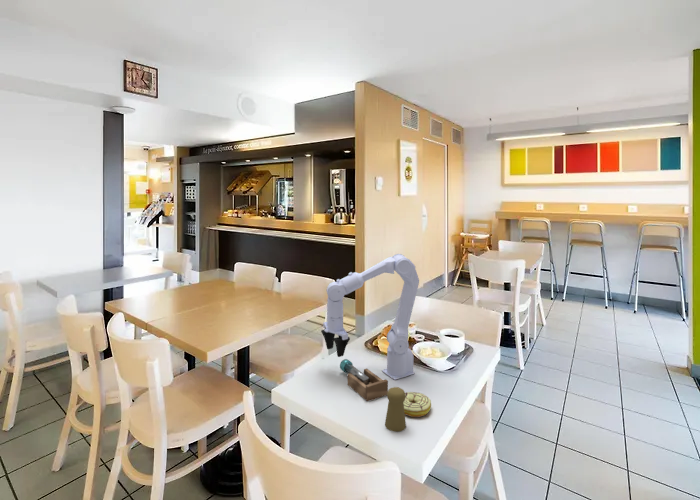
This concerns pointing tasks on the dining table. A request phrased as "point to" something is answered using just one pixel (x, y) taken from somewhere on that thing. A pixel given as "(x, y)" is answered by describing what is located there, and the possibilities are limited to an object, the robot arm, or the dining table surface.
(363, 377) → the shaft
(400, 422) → the olive brown pawn
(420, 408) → the decorated donut
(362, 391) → the housing
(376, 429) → the dining table surface
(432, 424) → the dining table surface
